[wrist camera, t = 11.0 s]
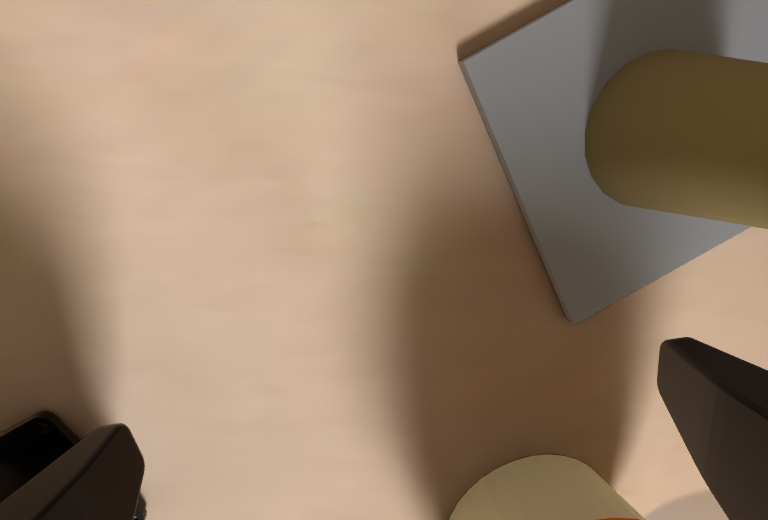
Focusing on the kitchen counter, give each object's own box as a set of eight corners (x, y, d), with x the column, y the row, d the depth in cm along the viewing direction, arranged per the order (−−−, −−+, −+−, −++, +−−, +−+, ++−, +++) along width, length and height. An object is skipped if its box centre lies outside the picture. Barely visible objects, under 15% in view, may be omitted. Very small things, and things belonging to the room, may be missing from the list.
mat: (567, 319, 24) (574, 325, 23) (458, 62, 19) (463, 61, 19) (803, 187, 24) (816, 189, 23) (749, -101, 19) (763, -106, 19)
